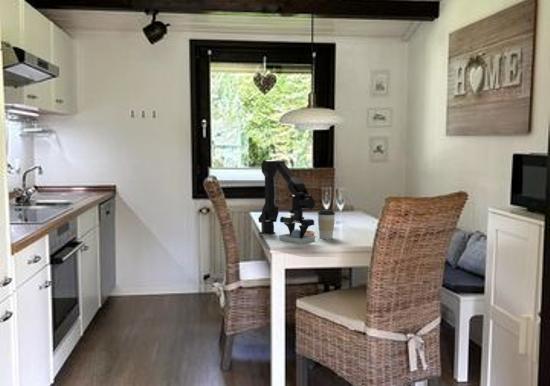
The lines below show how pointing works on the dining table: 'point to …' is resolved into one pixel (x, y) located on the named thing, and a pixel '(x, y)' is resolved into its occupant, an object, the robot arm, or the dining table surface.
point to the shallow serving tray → (304, 240)
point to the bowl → (309, 233)
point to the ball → (296, 233)
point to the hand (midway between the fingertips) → (296, 237)
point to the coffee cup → (326, 223)
